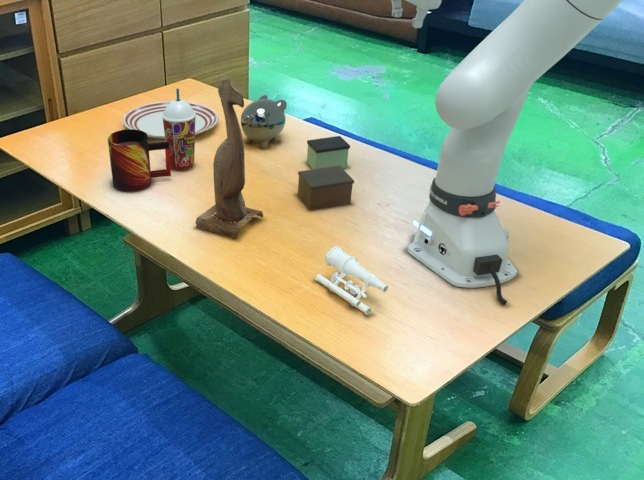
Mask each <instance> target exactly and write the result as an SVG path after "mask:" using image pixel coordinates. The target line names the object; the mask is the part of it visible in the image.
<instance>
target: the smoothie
mask: <svg viewBox="0 0 644 480" xmlns="http://www.w3.org/2000/svg"><path fill="white" fill-rule="evenodd" d="M175 90H176V91H175V92H176V99H173V100H171V102H170V103H169V104H168V105H167V106H166V108H165V110H164V113H163V114H162V118H163V126H164V133H165V139H164V140H165V141H169V154H170V164H171V170H174V171H179V172H180V171H187V170H189V169H191V168H192V167H193V164H194V163H195V153H196V152H195V151H196V149H195V147H196V145H195V144H196V135H195V116H196V113H195V112H194V110H193V108H192V106H191V105H190V104H189V103H188V102H189V101H186V100H184V99H180V88H176V89H175Z"/></svg>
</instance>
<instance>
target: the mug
mask: <svg viewBox="0 0 644 480" xmlns="http://www.w3.org/2000/svg"><path fill="white" fill-rule="evenodd" d="M107 145H108V153H109V163H110V170H111V178H112V179H111V180H112V187H113V188H114V189H115V190H117V191H119V192H123V193H137V192H140V191H144V190H146V189H148V188H149V187H150V186H151V185H152V179H154V178H155V179H156V178H163V177H172V168H171V164H170V154H169V141H156V142H149V137H148V135H147V133H145V132H143V131H141V130H134V129H128V128H127V129H120V130H117V131H114V132H112V133H111V134H109V135H108V136H107ZM160 150H164V151H165V152H164V153H165V168H163V169H156V170H151V159H150V152H151V151H160Z"/></svg>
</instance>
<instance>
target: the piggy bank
mask: <svg viewBox="0 0 644 480" xmlns="http://www.w3.org/2000/svg"><path fill="white" fill-rule="evenodd" d="M268 97H269V96H268V95H267V94H263V95H261V96H260V97H259V98H258V99H257V100H254V101H253V102H251V103H249V104H248V105H247V106H245V108H244V109H243V110H242V113H241V116H240V128H241V131H242V132H243V133H242V134H243V135H244V136H245V137H246V138H245V139H246V143H247V144H252V143H253V142H254V143H259V144H260V147H261V149H267V148H268V146H269V143H270V141H271V143H273V144H276V143H278V142H279V135H280V134H281V133H282V132H283V130H284V128H285V125H286V119H287V118H286V113H285V111H286V110H287V106H288V104H287V101H286V100H285V99H279V100H274V99H271V98H270V99H269V98H268Z"/></svg>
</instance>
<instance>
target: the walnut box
mask: <svg viewBox="0 0 644 480" xmlns="http://www.w3.org/2000/svg"><path fill="white" fill-rule="evenodd" d="M297 175H298V183H297V185H298V186H297V196H298V197H299V199H300V200H301V201H302V202H303V203H304V205H305V206H306V207H307V209H308V210H309V211H314V210H315V211H316V210H321V209H327V208H334V207H335V208H336V207H340V206H347V205H351V201H352V192H353V186H354V184H355V180H354V179H353V177H351V176H350V175H349V174H348V172H346V171H345V169H344V168H341V167H340V166H333V167H326V168H319V169H312V168H311V169H306V170H298V171H297Z"/></svg>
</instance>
